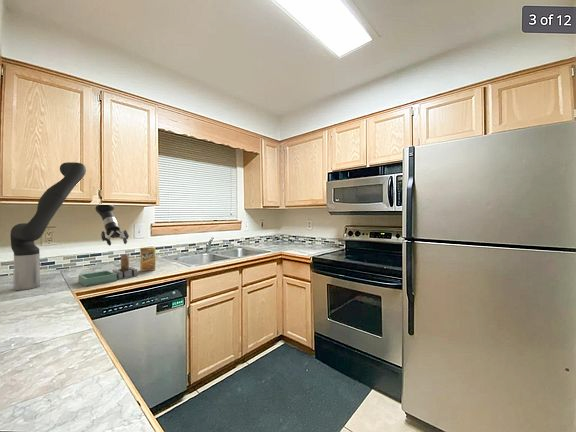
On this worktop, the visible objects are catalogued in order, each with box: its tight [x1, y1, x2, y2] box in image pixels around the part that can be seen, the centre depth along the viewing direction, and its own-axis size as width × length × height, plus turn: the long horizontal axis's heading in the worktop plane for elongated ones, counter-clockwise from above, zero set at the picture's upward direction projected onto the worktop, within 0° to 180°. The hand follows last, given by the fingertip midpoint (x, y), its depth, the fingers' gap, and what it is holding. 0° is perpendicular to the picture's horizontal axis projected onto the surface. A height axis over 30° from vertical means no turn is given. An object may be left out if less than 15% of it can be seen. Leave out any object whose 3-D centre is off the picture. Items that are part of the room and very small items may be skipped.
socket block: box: [111, 266, 138, 280], centre depth 153 cm, size 10×10×4 cm
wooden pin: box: [120, 254, 130, 272], centre depth 153 cm, size 4×4×13 cm
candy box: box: [139, 246, 156, 272], centre depth 169 cm, size 9×4×15 cm, turn 116°
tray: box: [77, 270, 118, 287], centre depth 141 cm, size 14×14×4 cm
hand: (118, 244), depth 159 cm, fingers open, 8 cm apart
